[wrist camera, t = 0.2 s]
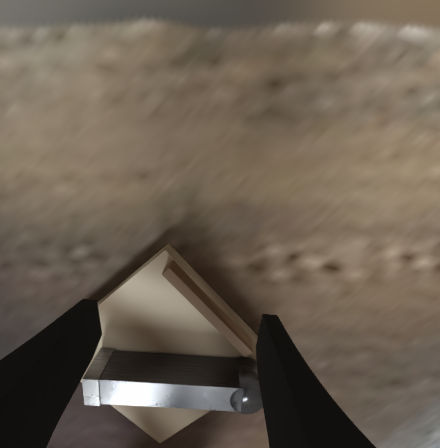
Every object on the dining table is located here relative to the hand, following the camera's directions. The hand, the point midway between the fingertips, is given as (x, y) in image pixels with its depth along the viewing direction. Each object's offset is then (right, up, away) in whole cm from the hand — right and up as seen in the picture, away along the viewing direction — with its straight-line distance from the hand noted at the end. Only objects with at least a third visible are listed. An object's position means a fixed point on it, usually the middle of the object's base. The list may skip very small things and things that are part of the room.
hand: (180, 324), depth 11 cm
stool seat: (-3, -7, +13) cm, 15 cm away
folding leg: (-2, -8, +12) cm, 14 cm away
